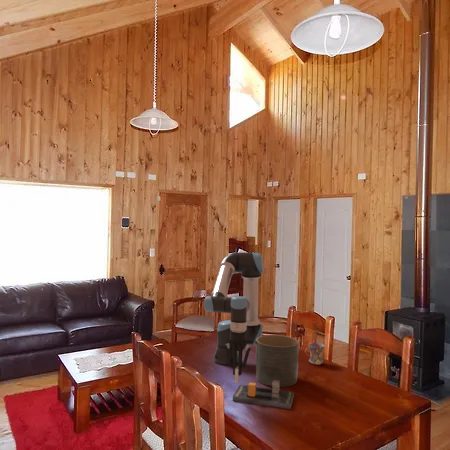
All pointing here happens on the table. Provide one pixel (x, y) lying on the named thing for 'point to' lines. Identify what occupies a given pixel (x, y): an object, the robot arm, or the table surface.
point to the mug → (315, 353)
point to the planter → (277, 359)
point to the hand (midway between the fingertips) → (237, 382)
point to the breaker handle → (252, 389)
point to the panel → (266, 396)
